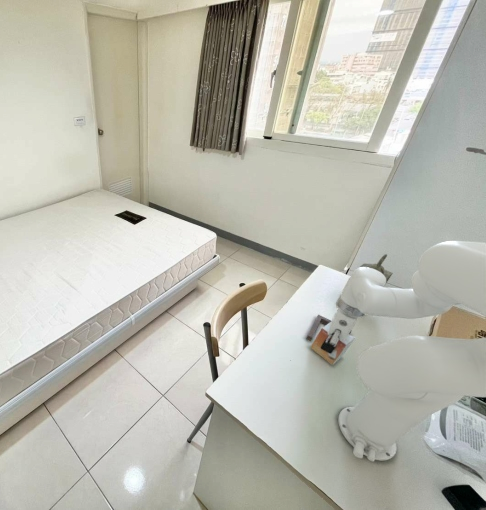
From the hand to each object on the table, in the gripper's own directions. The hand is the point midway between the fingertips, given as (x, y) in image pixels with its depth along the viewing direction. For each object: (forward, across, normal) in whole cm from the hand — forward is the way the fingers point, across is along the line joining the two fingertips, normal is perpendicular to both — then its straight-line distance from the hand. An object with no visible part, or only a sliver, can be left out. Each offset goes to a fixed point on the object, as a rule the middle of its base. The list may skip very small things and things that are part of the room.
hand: (329, 342), depth 91 cm
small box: (+5, -1, -1) cm, 5 cm away
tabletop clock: (+5, +33, -3) cm, 33 cm away
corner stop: (+4, +8, +1) cm, 9 cm away
